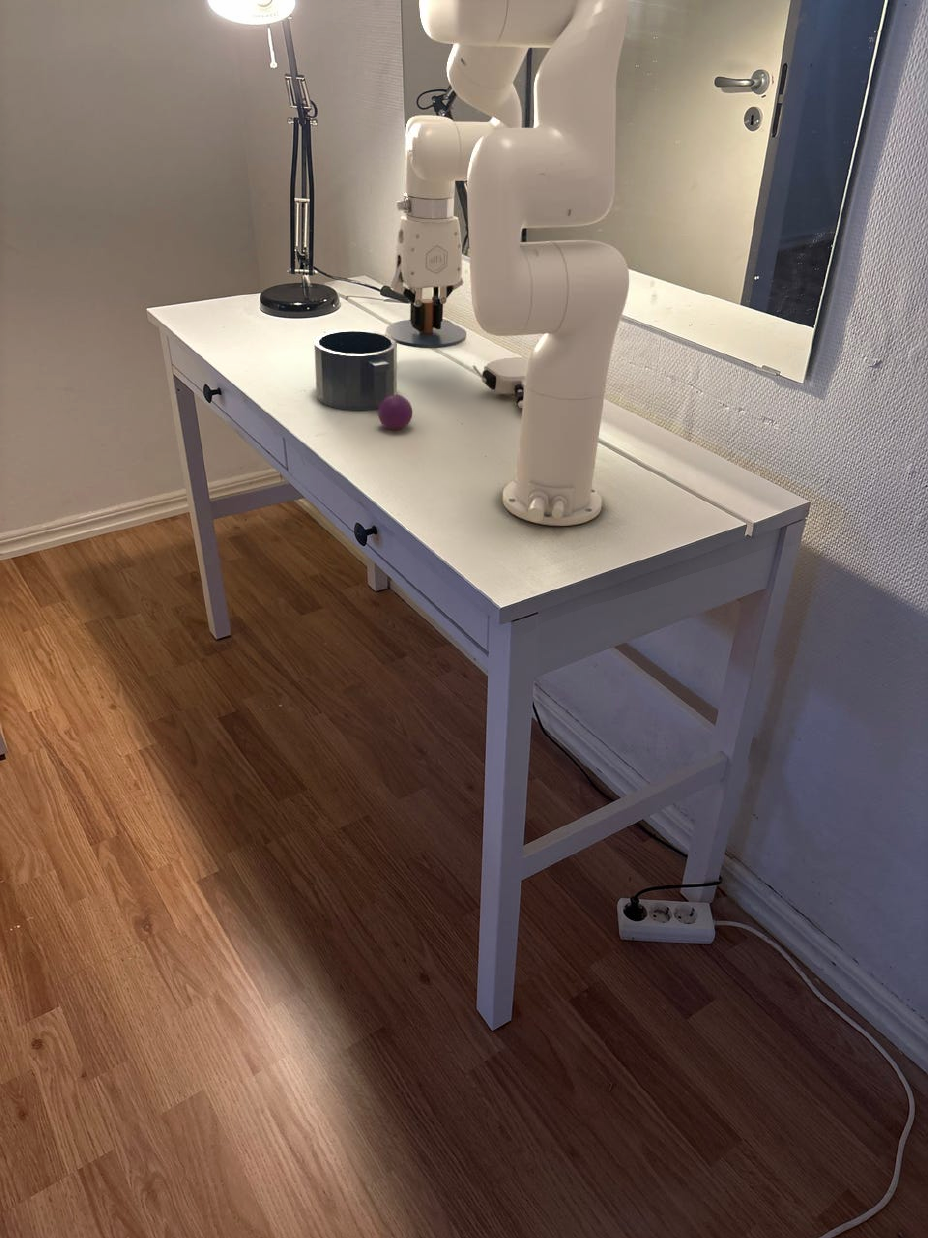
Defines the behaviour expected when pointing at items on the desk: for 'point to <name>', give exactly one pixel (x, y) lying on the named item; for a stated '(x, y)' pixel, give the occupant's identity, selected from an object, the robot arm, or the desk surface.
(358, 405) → the pot
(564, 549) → the desk surface
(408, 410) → the purple ball
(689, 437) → the desk surface
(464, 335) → the pot lid
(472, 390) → the desk surface
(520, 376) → the robot toy
